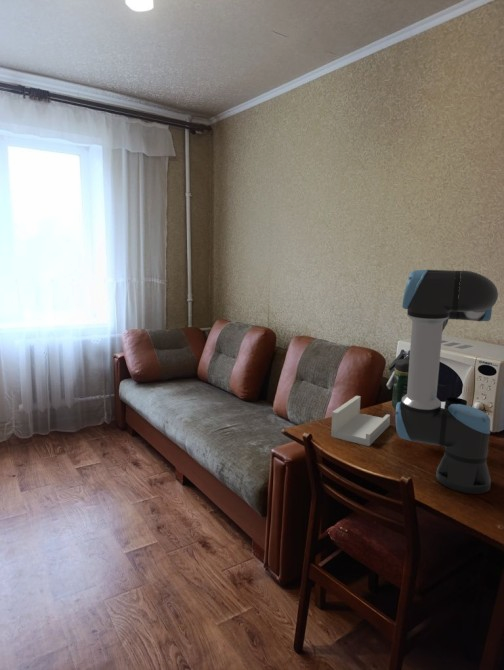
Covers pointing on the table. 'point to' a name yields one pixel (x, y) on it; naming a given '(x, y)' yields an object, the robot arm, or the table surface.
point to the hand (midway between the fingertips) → (400, 390)
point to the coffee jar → (400, 381)
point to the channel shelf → (357, 423)
